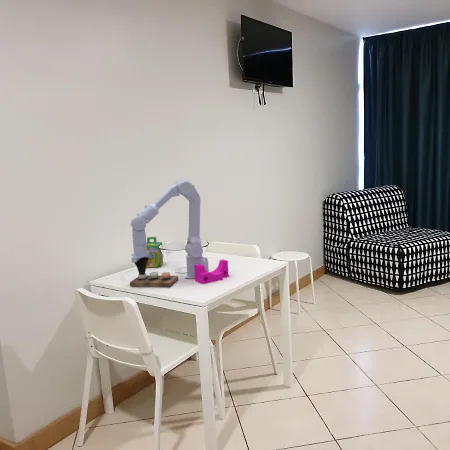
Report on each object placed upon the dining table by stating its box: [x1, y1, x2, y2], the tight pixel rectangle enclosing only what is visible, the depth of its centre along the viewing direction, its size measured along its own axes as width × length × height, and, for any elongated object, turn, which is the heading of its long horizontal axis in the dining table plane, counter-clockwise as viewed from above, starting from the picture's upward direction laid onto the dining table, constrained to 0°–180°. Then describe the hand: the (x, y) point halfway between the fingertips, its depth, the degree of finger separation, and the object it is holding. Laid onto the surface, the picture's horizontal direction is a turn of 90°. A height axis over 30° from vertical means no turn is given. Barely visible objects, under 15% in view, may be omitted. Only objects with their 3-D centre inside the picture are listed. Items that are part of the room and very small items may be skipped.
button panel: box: [129, 274, 179, 288], centre depth 193 cm, size 18×11×2 cm, turn 77°
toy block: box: [194, 258, 229, 285], centre depth 195 cm, size 15×6×8 cm, turn 122°
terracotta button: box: [161, 272, 171, 278], centre depth 192 cm, size 4×4×2 cm
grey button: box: [137, 272, 147, 279], centre depth 194 cm, size 4×4×2 cm
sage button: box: [149, 271, 159, 278], centre depth 193 cm, size 4×4×2 cm
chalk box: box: [145, 236, 164, 269], centre depth 224 cm, size 9×9×15 cm
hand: (142, 274), depth 194 cm, fingers closed, pressing on grey button
